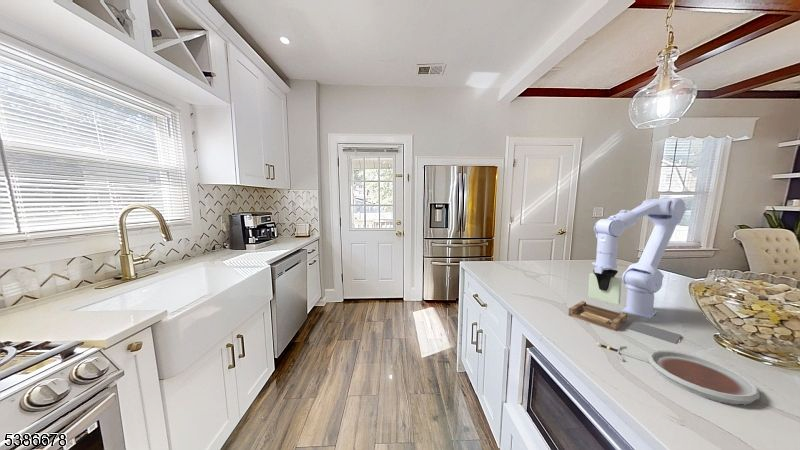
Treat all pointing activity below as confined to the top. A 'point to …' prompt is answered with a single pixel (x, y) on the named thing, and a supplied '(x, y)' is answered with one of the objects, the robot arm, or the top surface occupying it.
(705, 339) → the top surface
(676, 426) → the top surface
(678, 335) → the mat
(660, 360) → the frying pan
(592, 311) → the rack
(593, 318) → the offcut top
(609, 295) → the board
